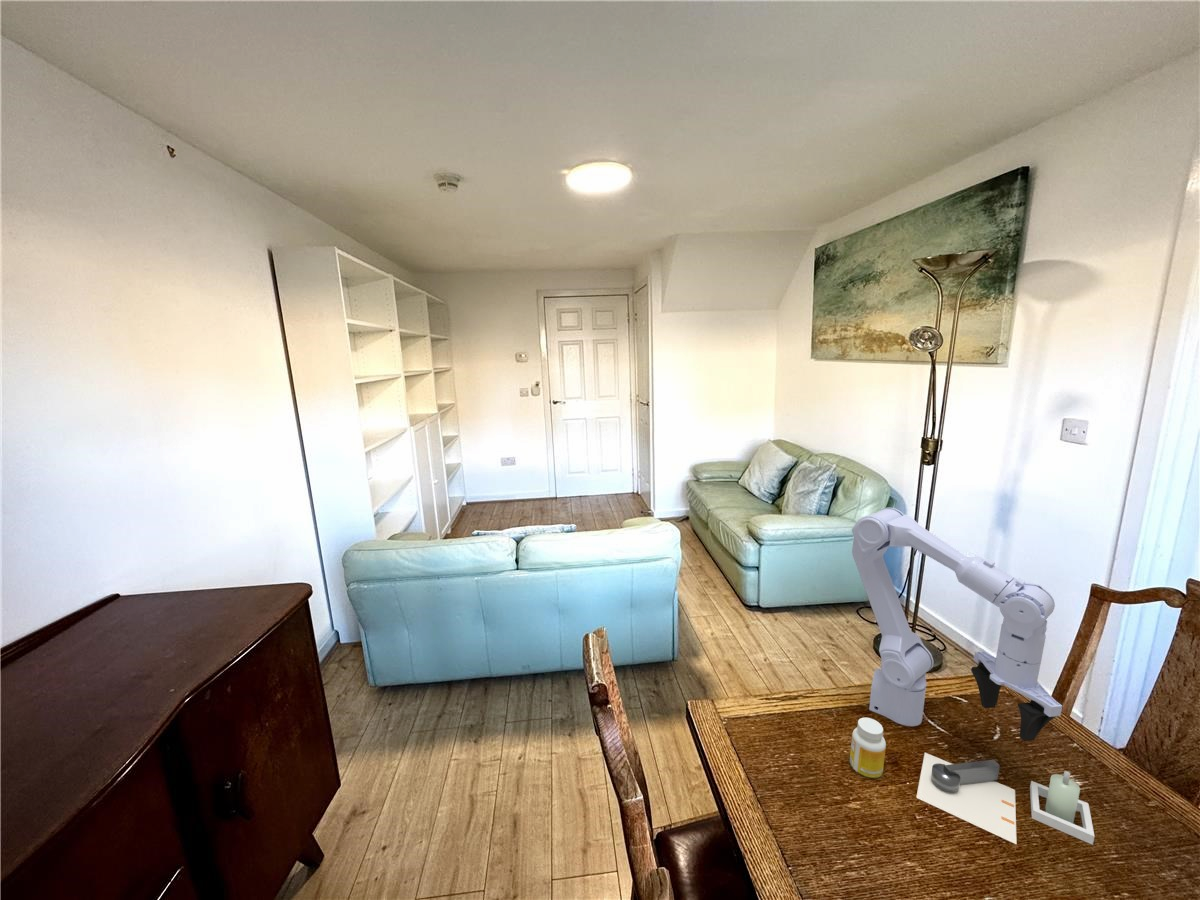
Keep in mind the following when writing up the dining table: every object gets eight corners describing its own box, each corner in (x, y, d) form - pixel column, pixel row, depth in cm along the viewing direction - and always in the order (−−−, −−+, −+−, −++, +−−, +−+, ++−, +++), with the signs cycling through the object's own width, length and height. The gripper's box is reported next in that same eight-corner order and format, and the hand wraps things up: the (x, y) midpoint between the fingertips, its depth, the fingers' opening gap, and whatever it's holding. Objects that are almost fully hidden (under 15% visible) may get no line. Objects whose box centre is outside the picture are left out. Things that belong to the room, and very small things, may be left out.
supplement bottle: (842, 763, 90) (846, 718, 89) (864, 755, 92) (868, 710, 90) (867, 787, 85) (871, 740, 84) (889, 777, 87) (894, 731, 85)
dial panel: (915, 802, 82) (916, 796, 82) (924, 756, 91) (924, 751, 91) (1015, 849, 74) (1016, 843, 74) (1014, 794, 83) (1015, 789, 83)
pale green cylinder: (1045, 821, 79) (1053, 774, 77) (1043, 806, 81) (1051, 760, 79) (1074, 833, 76) (1083, 785, 75) (1071, 817, 79) (1080, 770, 77)
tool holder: (1030, 823, 78) (1033, 810, 78) (1029, 792, 84) (1031, 780, 83) (1091, 849, 74) (1094, 836, 73) (1085, 816, 79) (1088, 803, 79)
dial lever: (943, 794, 82) (945, 779, 82) (925, 774, 86) (927, 759, 86) (1004, 786, 83) (1007, 772, 83) (984, 767, 87) (986, 753, 87)
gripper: (962, 631, 90) (953, 695, 93) (1038, 683, 76) (1024, 757, 79) (997, 629, 91) (987, 692, 93) (1079, 680, 76) (1064, 753, 79)
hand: (1006, 722), depth 86 cm, fingers open, 7 cm apart
